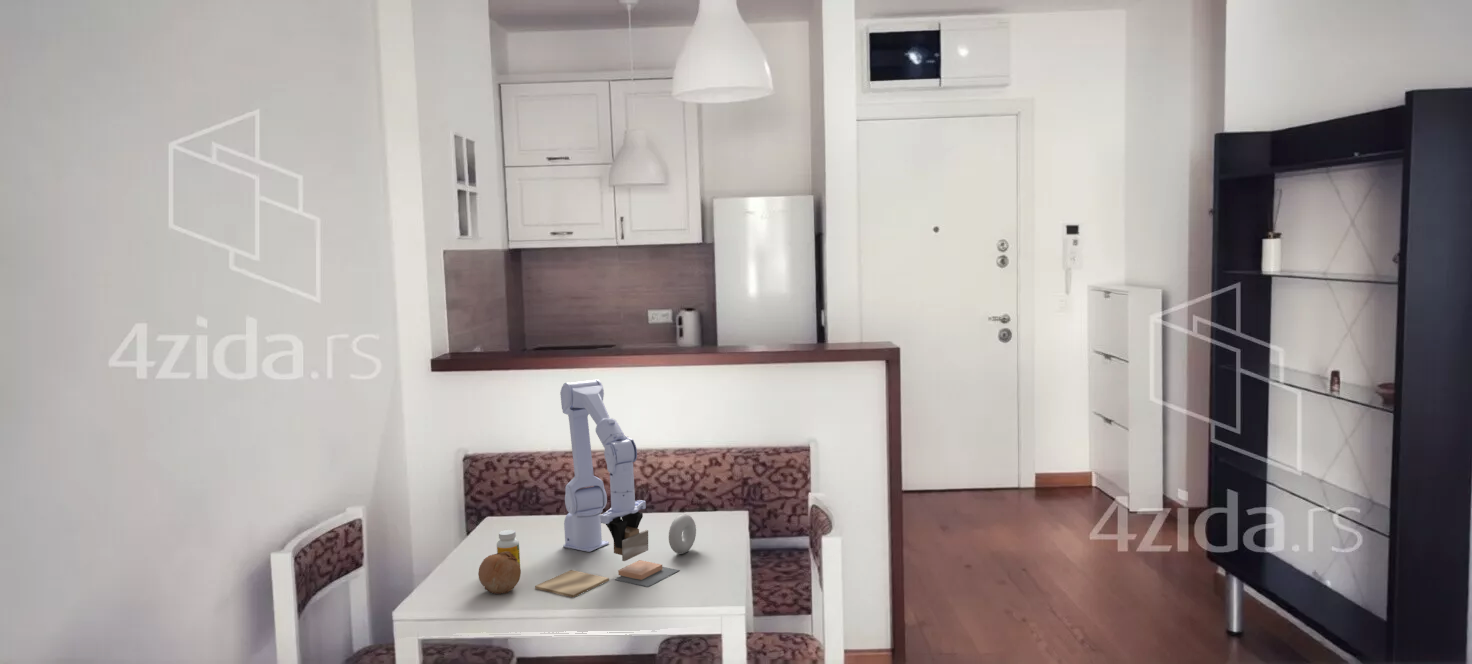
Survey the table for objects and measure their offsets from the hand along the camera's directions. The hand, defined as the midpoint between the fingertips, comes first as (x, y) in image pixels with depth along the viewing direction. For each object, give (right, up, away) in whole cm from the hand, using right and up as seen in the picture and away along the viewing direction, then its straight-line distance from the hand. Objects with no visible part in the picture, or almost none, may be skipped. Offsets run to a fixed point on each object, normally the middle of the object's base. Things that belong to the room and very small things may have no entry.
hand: (625, 545), depth 221 cm
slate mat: (+6, -7, -3) cm, 9 cm away
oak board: (-11, -8, -7) cm, 15 cm away
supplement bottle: (-29, -7, +4) cm, 30 cm away
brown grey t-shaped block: (0, -2, 0) cm, 2 cm away
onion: (-28, -9, -10) cm, 30 cm away
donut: (+13, -5, +12) cm, 19 cm away
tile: (+1, -5, 0) cm, 5 cm away
